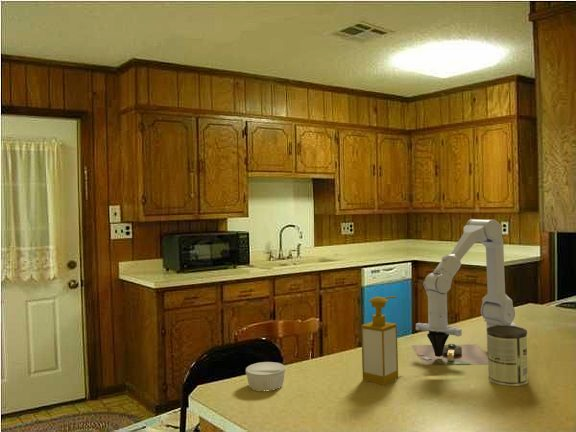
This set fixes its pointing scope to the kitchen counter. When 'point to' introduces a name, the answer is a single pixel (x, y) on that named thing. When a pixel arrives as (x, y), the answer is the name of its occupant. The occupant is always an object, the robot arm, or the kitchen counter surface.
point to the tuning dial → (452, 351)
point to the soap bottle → (379, 347)
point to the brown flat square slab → (469, 356)
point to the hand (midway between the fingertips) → (438, 355)
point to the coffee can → (507, 355)
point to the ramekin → (265, 375)
